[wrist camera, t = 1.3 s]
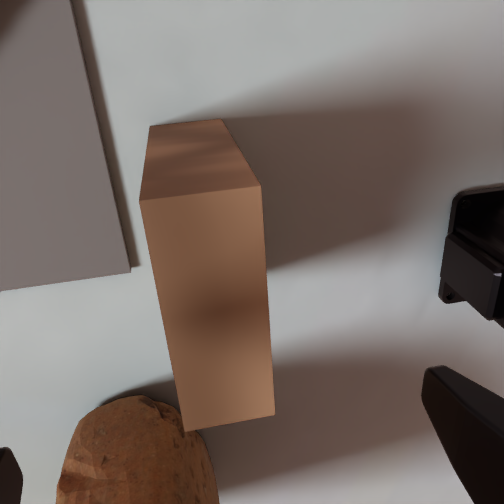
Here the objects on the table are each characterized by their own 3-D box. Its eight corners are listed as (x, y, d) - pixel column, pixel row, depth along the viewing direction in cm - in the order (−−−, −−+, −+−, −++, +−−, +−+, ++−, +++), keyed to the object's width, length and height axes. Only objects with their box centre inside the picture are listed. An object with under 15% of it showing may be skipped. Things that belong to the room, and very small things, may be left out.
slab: (221, 118, 19) (262, 185, 11) (237, 279, 23) (276, 414, 15) (149, 126, 19) (139, 200, 11) (177, 287, 22) (184, 432, 14)
